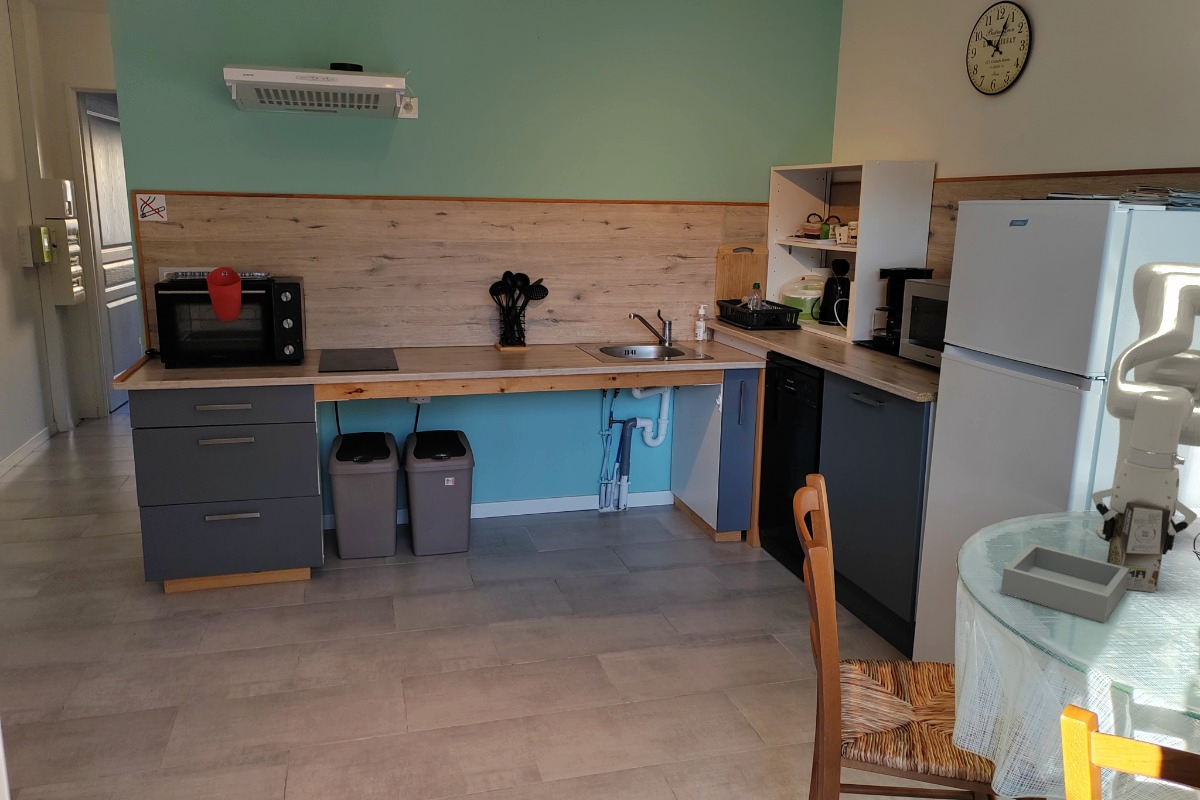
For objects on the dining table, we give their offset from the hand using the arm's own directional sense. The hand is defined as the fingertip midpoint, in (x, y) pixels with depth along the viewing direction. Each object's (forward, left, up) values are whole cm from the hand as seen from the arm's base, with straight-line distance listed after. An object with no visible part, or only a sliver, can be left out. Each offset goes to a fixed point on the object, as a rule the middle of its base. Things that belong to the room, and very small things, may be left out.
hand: (1135, 545), depth 171 cm
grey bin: (+15, -8, -7) cm, 18 cm away
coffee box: (0, 0, -7) cm, 7 cm away
